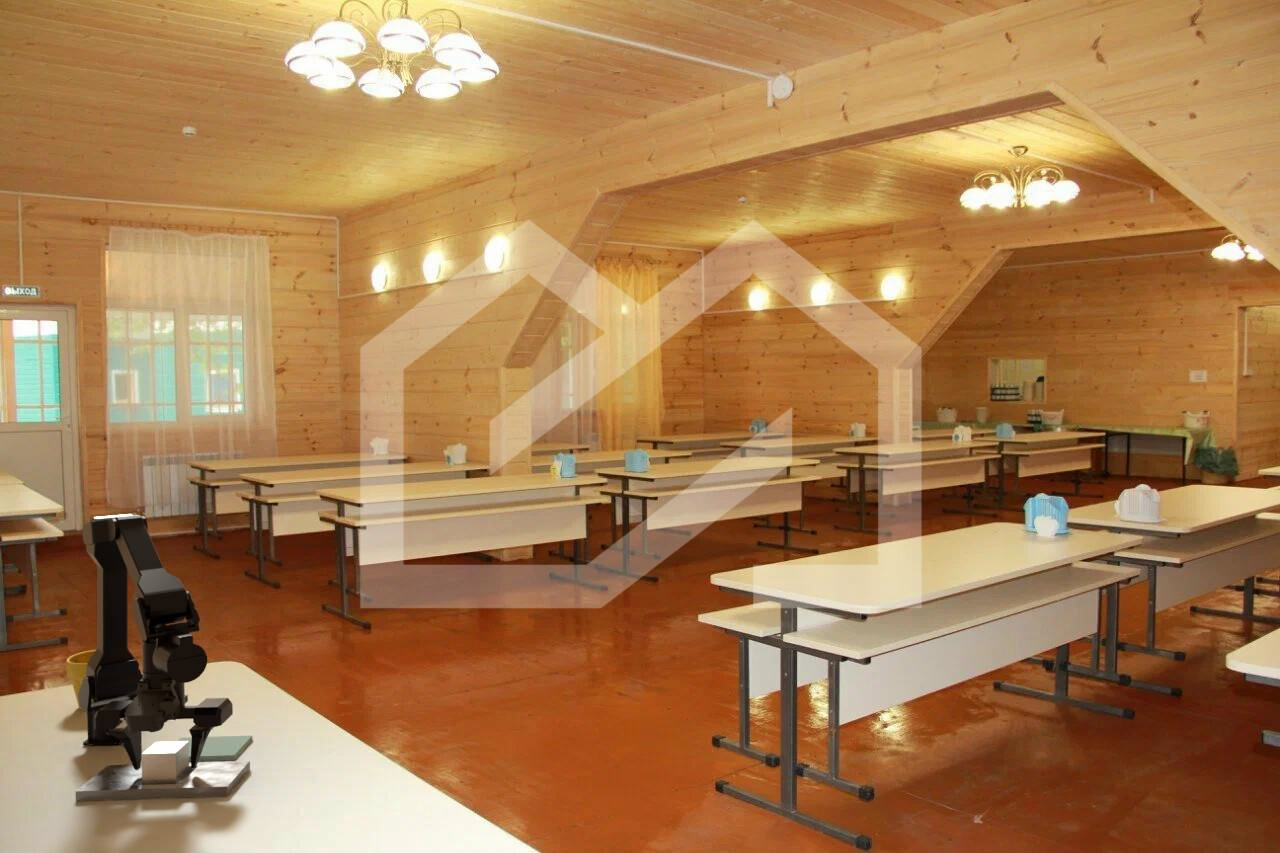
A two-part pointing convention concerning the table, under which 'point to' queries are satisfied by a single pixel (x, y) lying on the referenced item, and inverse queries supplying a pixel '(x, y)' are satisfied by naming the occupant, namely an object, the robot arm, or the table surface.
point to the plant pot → (78, 669)
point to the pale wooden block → (165, 763)
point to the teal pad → (221, 747)
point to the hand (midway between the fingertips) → (165, 768)
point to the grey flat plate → (199, 783)
